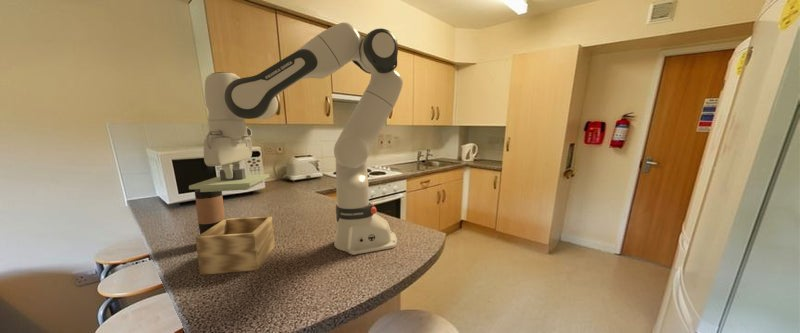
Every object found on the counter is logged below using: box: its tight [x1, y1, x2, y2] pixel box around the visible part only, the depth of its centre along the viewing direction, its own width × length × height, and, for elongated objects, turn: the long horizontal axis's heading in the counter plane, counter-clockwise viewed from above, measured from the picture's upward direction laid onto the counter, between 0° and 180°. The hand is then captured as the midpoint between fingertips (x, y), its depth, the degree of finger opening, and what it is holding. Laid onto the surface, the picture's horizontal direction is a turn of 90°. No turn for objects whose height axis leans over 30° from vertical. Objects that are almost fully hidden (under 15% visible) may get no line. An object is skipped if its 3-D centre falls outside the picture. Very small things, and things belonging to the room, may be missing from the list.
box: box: [194, 215, 276, 276], centre depth 77 cm, size 15×15×11 cm
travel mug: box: [194, 189, 226, 235], centre depth 88 cm, size 8×8×20 cm
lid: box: [188, 168, 270, 192], centre depth 75 cm, size 15×15×5 cm
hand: (233, 177), depth 75 cm, fingers closed on lid
